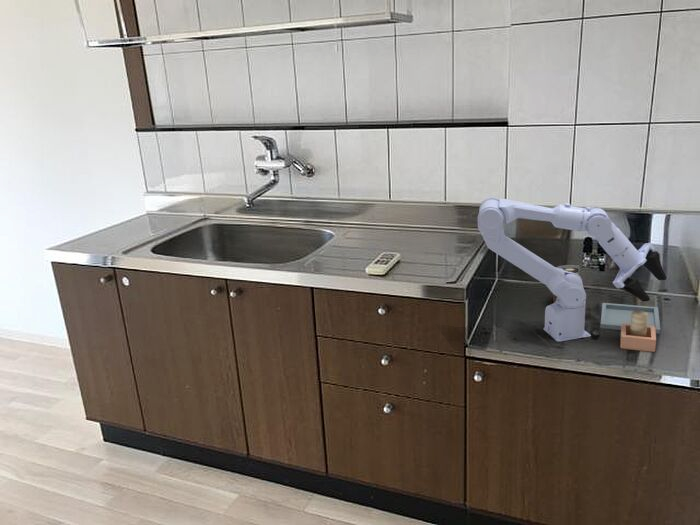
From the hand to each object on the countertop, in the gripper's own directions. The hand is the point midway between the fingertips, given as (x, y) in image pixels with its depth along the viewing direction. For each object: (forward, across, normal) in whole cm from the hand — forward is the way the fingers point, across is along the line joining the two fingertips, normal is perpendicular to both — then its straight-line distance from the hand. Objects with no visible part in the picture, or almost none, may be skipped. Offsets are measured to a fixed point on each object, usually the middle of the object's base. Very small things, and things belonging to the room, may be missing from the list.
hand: (654, 289), depth 146 cm
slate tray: (+8, -3, +14) cm, 16 cm away
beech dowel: (+7, -11, +3) cm, 14 cm away
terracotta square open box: (+8, -12, +4) cm, 14 cm away
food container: (-2, -4, +31) cm, 32 cm away
